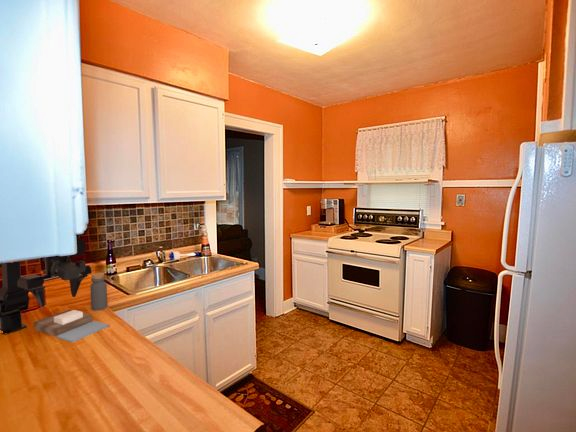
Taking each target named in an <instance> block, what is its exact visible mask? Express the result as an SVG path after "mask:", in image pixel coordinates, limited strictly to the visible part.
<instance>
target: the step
mask: <svg viewBox="0 0 576 432" xmlns="http://www.w3.org/2000/svg"><path fill="white" fill-rule="evenodd" d="M72 310H73V309H67V310H64V311H61V312H59V313H56V314H51V315H50V316H47V317H43V318H41V319H38V320H35V321H34V322H33V325H34V331H38V332H41V333H43V334H48V335H50V336H52V337H53V336H54V337H57V336H58V335H60V334H63V333H65V332H68V331H70V330H72V329H75V328H77V327H80V326H82V325H85V324H87V323H90V322H92V321H93V315H92V314H89V313H85V312H83V317H82V318H79V319H77V320H74V321H71V322H69V323H66V324H64V325H62V324H58V323H54V317H55V316H58V315H61V314H63V313H66V312H69V311H72Z"/></svg>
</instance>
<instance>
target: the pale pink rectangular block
mask: <svg viewBox="0 0 576 432" xmlns="http://www.w3.org/2000/svg"><path fill="white" fill-rule="evenodd" d="M71 310H72V311H69V312H66V313H63V314H61V315H58V316H55V317H54V323H58V324H62V325H64V324H66V323H69V322H71V321H74V320H77V319H79V318H82V317H83V313H84V312H83V311H81V310H76V309H71Z"/></svg>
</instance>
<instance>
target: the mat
mask: <svg viewBox="0 0 576 432" xmlns="http://www.w3.org/2000/svg"><path fill="white" fill-rule="evenodd" d="M108 327H110V324H109V323H105V322H101V321H97V320H92V322H90V323H87V324H85V325H82V326H80V327H77V328H75V329H72V330H70V331H68V332H65V333H63V334H60V335H58V336H56V338H57V339H60V340H63V341H67V342H69V343H75V342H77V341H79V340H81V339H83V338H86V337H89V336H91V335H93V334H95V333H97V332H100V331H101V330H103V329H106V328H108Z"/></svg>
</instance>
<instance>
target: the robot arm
mask: <svg viewBox="0 0 576 432" xmlns="http://www.w3.org/2000/svg"><path fill="white" fill-rule="evenodd" d="M77 245H78V253H77V254H76V255H73V256H67V257H52V258H44V257H42V258H43V259H42V258H41V259H42V262H44V265H45V267H44V268H45V269H44V270H42V272H43V273H42V274H43V275H38V274H30V275H26V276H25V275H24V276H21V274H22V273H21V261H20V262H14V263H7V264H2V263H1V278H2V287H1V288H0V330H1V331H3V333H8V334H11V333H14V332H17V331H20V330H22V329H25V328H27V327H28V325H26V324H24V323H23V322H22V312H23V311H24V312H25V311H27V310H28V308H29V305H30V296H29V294H30V293H31V294H32V296H33V297H34V299H35V300H36V301H37V303H38V304H39V306H40V307H41V308H42V307H43V308H44V307H45V293H44V291H45V288H46V286H44V283H45V282H49V281H53V280H56V279H61V280H62V281H63V282H64V281H66V282H67V281H69V287H70V294H71V296H72V297H73V298H75V297H77V294H78V290H79V288H80V285H81V283H82V281H83V280H84V279H85V278H88V277H89V275H92V274H93V273H92V270H93V269H92V267H91V266H90V265H89V264H86V262H85V261H84V260H80V261H76V262H72V260H71V257H73V258H78V257H80V256H82V255H83V254H84V253H85V252H86V249H87V244H86V243H85V241H84V240H83V239H82V238H80V235H79V236H77ZM29 292H30V293H29Z"/></svg>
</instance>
